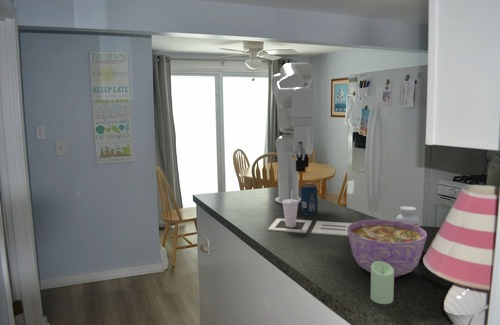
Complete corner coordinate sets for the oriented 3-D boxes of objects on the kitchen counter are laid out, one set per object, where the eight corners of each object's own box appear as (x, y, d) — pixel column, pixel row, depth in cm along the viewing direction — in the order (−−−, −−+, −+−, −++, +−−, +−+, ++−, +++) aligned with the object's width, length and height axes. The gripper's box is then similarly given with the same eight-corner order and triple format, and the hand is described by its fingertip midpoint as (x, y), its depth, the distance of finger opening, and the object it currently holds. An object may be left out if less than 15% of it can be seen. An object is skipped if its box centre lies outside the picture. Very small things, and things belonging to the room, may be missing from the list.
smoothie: (298, 228, 142) (298, 191, 140) (281, 228, 144) (280, 191, 142) (299, 223, 149) (299, 188, 147) (283, 223, 150) (282, 187, 148)
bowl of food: (383, 252, 117) (384, 215, 116) (442, 277, 100) (444, 234, 98) (331, 266, 108) (331, 226, 107) (386, 296, 91) (387, 248, 89)
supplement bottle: (401, 242, 125) (402, 204, 124) (422, 247, 121) (423, 207, 119) (391, 248, 121) (393, 208, 119) (413, 253, 116) (414, 212, 114)
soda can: (307, 210, 168) (307, 183, 166) (320, 213, 163) (320, 185, 161) (297, 213, 163) (297, 185, 161) (310, 216, 158) (310, 187, 156)
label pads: (276, 219, 155) (276, 218, 155) (354, 224, 146) (354, 223, 146) (267, 230, 142) (267, 228, 142) (352, 236, 133) (352, 234, 132)
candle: (397, 303, 87) (398, 269, 86) (375, 305, 87) (376, 270, 85) (387, 293, 92) (388, 260, 91) (367, 294, 92) (367, 261, 90)
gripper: (295, 121, 149) (295, 165, 151) (287, 123, 132) (288, 172, 135) (315, 121, 146) (315, 165, 149) (309, 123, 130) (309, 173, 133)
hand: (302, 169), depth 142 cm, fingers open, 9 cm apart
